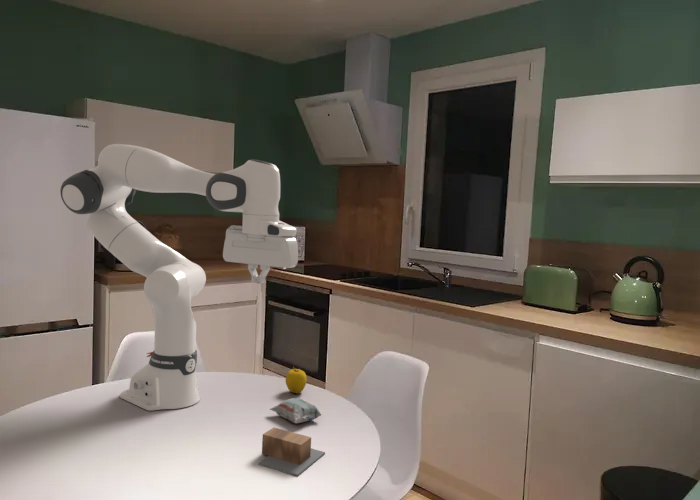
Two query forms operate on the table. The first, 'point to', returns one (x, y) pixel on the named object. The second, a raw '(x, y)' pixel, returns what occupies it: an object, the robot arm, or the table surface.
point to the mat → (289, 466)
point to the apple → (296, 380)
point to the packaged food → (297, 410)
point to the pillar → (286, 445)
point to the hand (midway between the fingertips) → (258, 283)
